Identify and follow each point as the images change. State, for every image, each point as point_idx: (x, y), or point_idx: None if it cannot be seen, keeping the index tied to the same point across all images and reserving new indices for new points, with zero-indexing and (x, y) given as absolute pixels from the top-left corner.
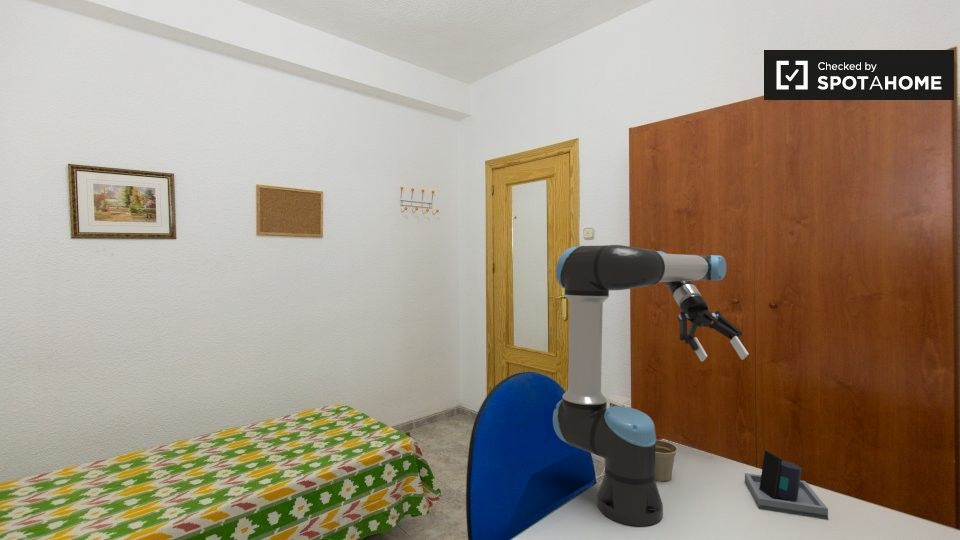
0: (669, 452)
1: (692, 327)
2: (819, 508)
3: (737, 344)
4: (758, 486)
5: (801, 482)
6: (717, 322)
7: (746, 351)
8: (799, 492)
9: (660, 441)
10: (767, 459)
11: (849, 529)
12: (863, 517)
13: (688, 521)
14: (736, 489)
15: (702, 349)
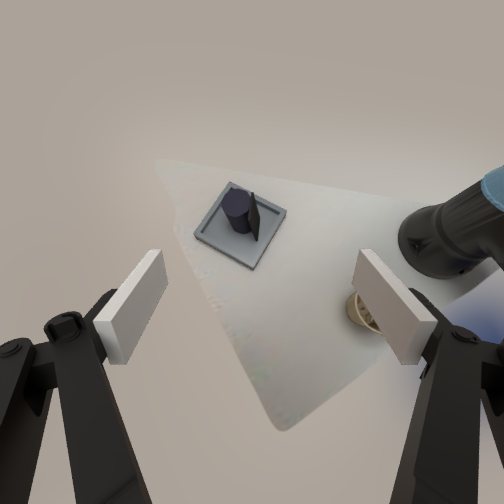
0: (355, 310)
1: (475, 421)
2: (236, 185)
3: (138, 299)
4: (252, 247)
5: (200, 232)
6: (112, 493)
7: (147, 256)
8: (215, 226)
9: (370, 327)
10: (251, 219)
11: (226, 172)
12: (190, 184)
13: (378, 210)
14: (278, 256)
15: (382, 268)
